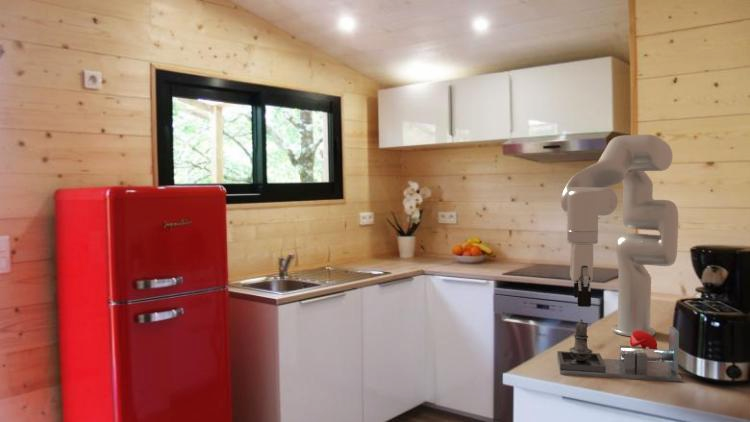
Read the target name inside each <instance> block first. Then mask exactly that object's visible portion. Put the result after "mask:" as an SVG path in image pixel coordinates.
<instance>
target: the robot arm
mask: <svg viewBox="0 0 750 422" xmlns="http://www.w3.org/2000/svg"><path fill="white" fill-rule="evenodd" d="M672 161H673V151H672V147H671V146H670V145H669V144H668V143H667V142H666V141H665V140H663V139H662V138H660V137H658V136H656V135H653V134H627V135H624V134H623V135H619V136H618V135H617V136H615V137H613V138H612V139H611V140H609V142H608V144H607V145H606V148H604V151H603V152H602V154H601V156H600V157H599V159H598V161H597V162H596V163H593V164H591V165H589V166H587V167H585V168H584V169H582V170H579V171H578V172H577V173H575V174H574V175H572V177H571V178H570V179H569V180H568V181H567V183H566V185H565V187H564V189H563V191H562V192H561V197H560V205H561V208H562V210H563V211H564V212H565V213H567V214H566V215H567V218H566V219H567V220H566V221H567V224H566V225H567V230H566V231H567V235H566V236H567V241H566V242H567V243H568V244H570V258H569V260H570V264H569V265H570V266H569V277H570V279H571V281H572V283H573V297H574V298H576V299H577V306H578V307H581V308H582V307H583V308H590V307H591V306H592V291H591V283H592V282H593V279H594V278H593V276H594V275H593V274H594V245H596V244H598V243H599V216H602V217H603V216H609V215H612V213H613V212H614V211H615V210H617V207H618V202H619V201H618V200H619V199H618V195H617V193H616V192H615V191H614V190H613V189H612V188H609V187H613V186H615V185H618V184H620V183H621V182H622V189H623V190H622V191H623V193H622V194H623V195H622V223H623V225H624V226H625V227H626V228H628V229H632V230H643V231H658V232H659V234H647V233H634V232H633V233H624V234H622V235H621V236H619V237H618V238H617V240H616V242H615V250H616V251H615V253H616V259H617V265H618V268H617V269H618V282H617V283H618V285H617V287H618V289H617V293H618V294H617V295H618V296H617V324H614V325H613V326H612V327H611V328H612V329H611V330H612V332H614V333H615V334H617V335H622V336H626V337H631V336H632V333H633V332H634V331H636V330H641V331H645V332H647V333H649V334H650V335H651V336H653V337H654V335H656V329H654V328H653V327H651V307H652V306H651V305H652V303H651V302H652V301H651V299H652V293H651V292H652V278H651V275H650V273H649V271H648V270H647V268H646V267H645V266H646V265H647V266H655V267H656V266H658V267H670V266H673V265H674V264H675V262H676V260H677V256H678V255H677V254H678V243H679V242H678V238H679V236H678V234H679V210H678V207H677V205H676V203H674V201H672V200H667V199H653V191H654V189H653V188H654V186H653V182H652V180H651V177H649V175H648V174H647V172H663V171H666V170H667V169H669V168H670V166H671V165H672V163H673V162H672Z"/></svg>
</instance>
